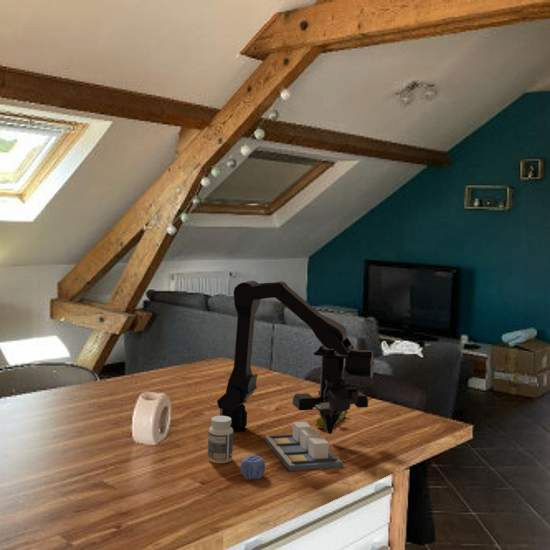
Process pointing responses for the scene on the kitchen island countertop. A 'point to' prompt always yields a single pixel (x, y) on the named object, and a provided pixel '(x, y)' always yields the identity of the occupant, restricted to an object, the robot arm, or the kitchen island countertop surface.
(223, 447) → the pill bottle
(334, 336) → the robot arm
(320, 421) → the toy
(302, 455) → the dip bank
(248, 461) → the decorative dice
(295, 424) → the white cube
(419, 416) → the kitchen island countertop surface
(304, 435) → the white cube
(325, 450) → the white cube
